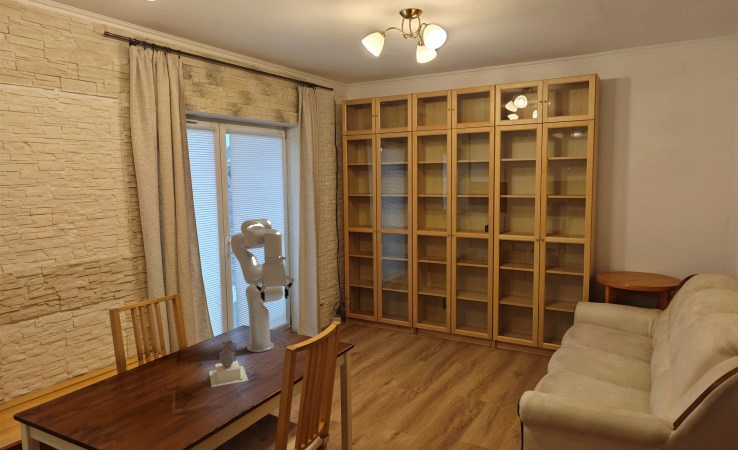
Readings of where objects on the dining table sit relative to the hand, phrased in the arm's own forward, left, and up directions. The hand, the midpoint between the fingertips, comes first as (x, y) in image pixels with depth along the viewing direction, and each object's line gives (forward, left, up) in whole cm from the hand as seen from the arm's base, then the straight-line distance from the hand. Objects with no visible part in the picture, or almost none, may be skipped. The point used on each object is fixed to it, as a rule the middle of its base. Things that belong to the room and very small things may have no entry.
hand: (274, 299), depth 205 cm
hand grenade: (+5, -21, -25) cm, 33 cm away
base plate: (+5, -21, -30) cm, 37 cm away
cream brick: (+5, -21, -28) cm, 36 cm away
